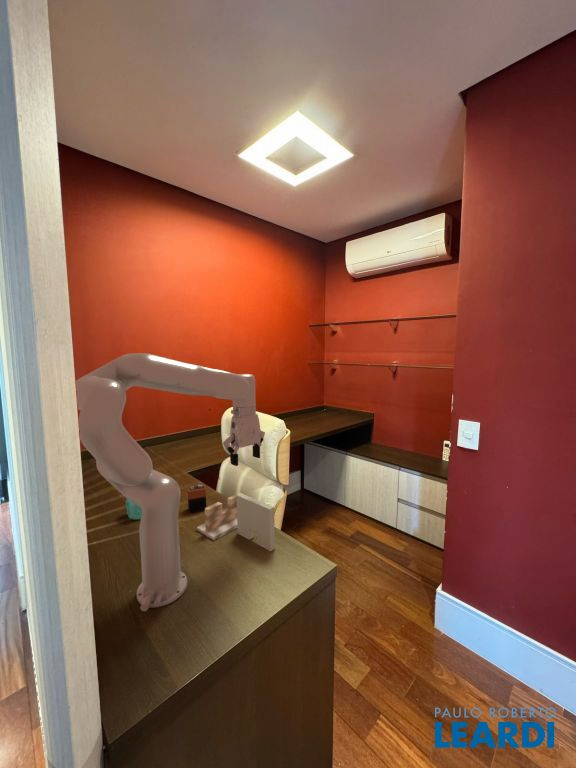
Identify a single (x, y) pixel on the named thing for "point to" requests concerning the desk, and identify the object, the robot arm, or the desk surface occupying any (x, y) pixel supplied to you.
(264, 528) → the beige rectangular panel
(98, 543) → the desk surface
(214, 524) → the stand
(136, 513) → the decorative dice
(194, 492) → the battery
